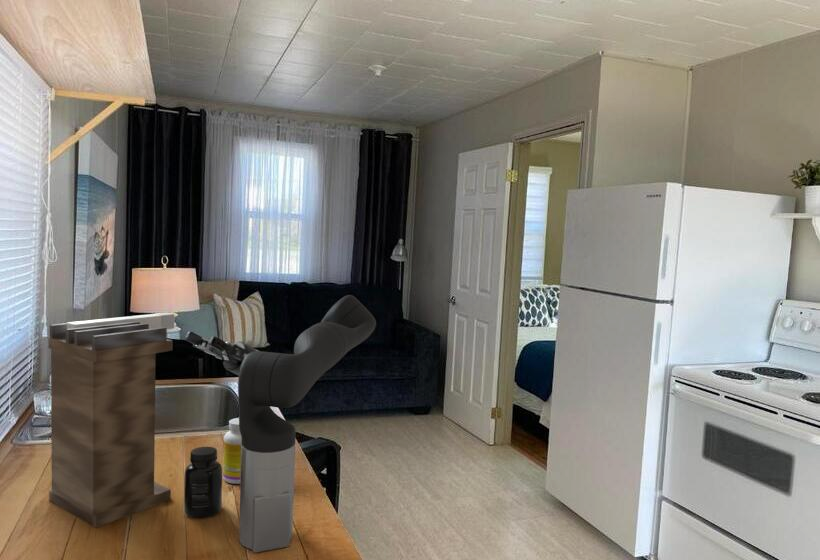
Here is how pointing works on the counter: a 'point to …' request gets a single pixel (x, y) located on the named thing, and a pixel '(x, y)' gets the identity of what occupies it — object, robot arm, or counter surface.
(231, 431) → the supplement bottle
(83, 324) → the bar
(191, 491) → the supplement bottle
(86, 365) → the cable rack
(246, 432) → the robot arm
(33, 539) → the counter surface
